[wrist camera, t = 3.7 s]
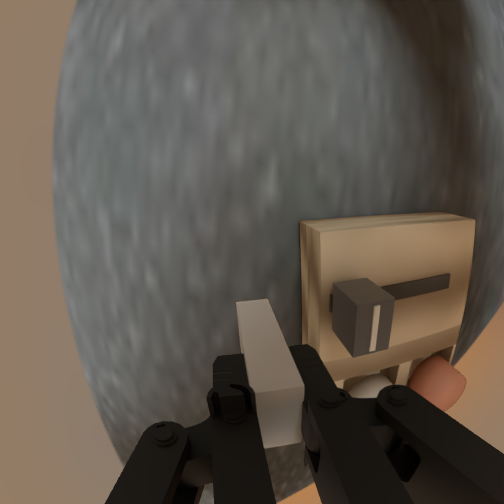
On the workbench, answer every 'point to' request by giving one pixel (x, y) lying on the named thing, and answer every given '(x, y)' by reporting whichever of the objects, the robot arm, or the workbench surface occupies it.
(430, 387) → the button
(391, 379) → the console
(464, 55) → the workbench surface
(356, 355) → the fader knob
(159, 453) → the robot arm
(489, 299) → the workbench surface
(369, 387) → the button
